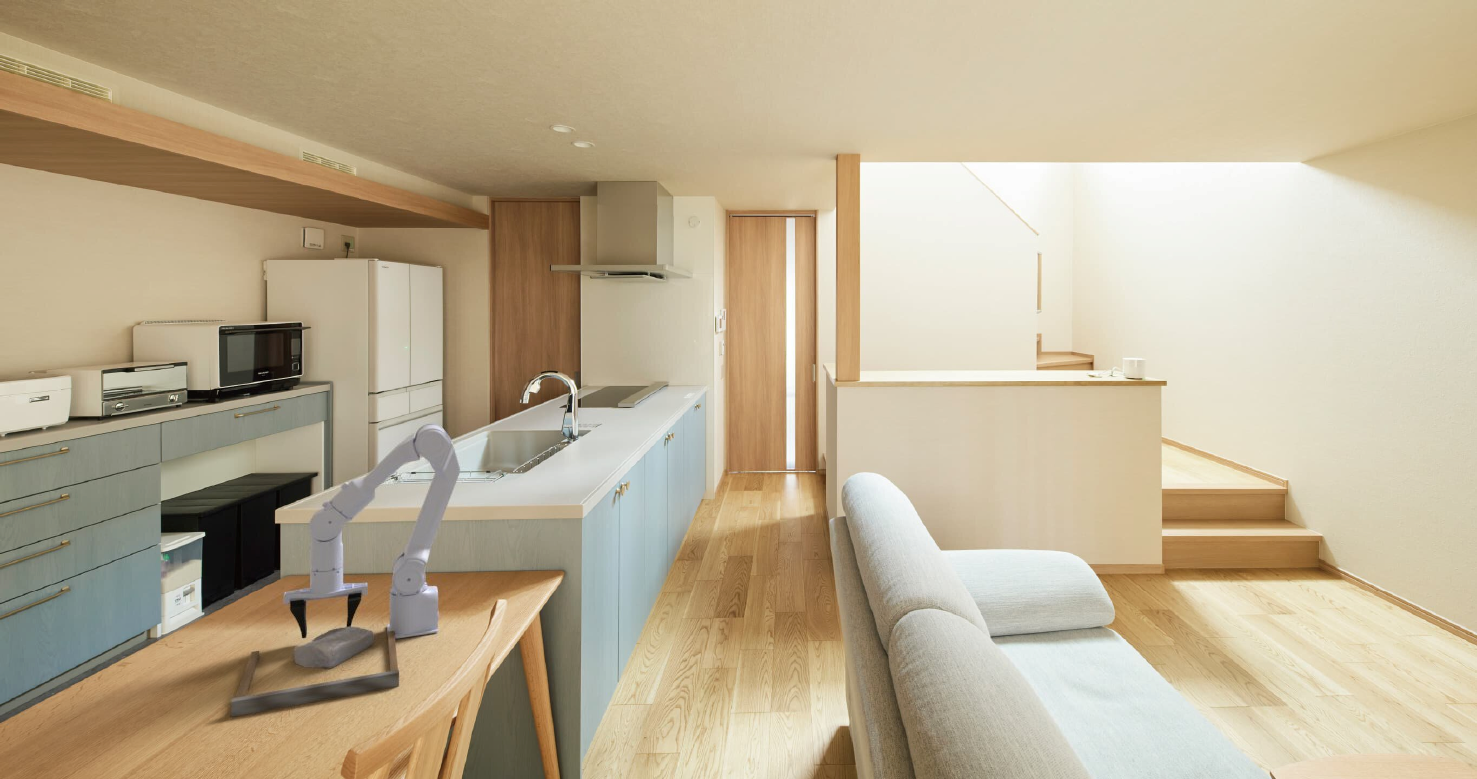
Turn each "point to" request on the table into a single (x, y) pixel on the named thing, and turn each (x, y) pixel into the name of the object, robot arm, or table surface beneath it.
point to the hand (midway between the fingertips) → (326, 633)
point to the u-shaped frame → (311, 687)
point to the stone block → (333, 647)
